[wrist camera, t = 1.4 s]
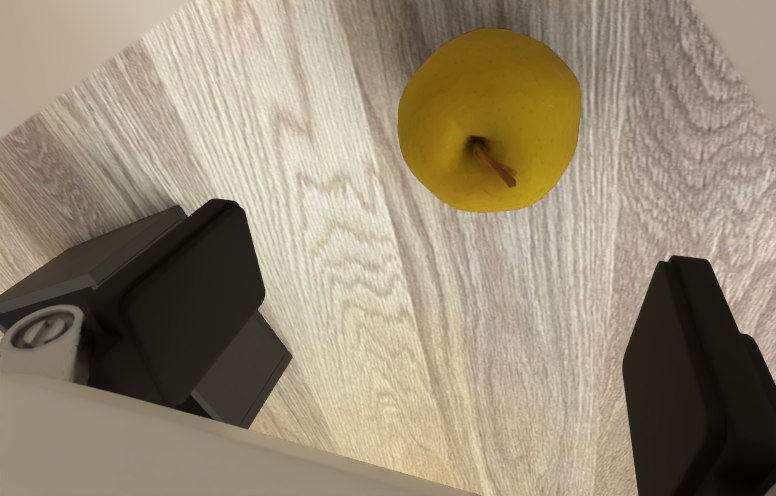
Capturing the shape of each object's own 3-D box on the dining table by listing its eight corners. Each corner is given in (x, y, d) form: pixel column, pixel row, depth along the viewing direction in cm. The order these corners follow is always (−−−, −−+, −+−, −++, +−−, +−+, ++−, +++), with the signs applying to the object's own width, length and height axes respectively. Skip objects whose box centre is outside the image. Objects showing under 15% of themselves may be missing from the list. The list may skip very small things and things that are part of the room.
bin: (68, 248, 38) (-23, 309, 32) (178, 204, 30) (86, 273, 25) (179, 370, 44) (120, 439, 38) (293, 357, 36) (241, 441, 31)
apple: (596, 135, 20) (607, 237, 14) (457, 173, 23) (415, 271, 17) (560, -22, 17) (554, 17, 11) (408, 45, 20) (335, 105, 14)
